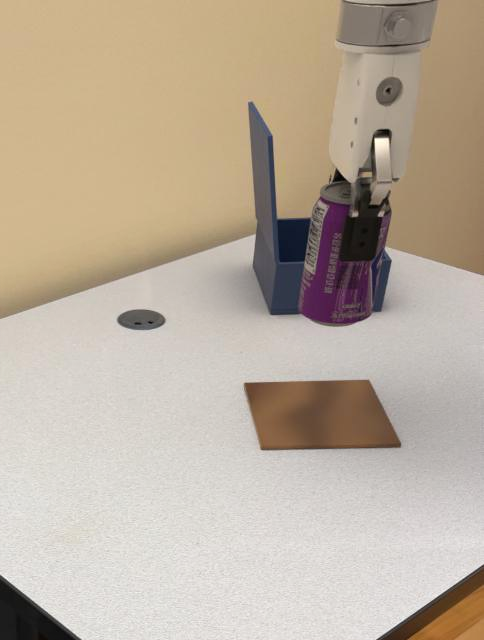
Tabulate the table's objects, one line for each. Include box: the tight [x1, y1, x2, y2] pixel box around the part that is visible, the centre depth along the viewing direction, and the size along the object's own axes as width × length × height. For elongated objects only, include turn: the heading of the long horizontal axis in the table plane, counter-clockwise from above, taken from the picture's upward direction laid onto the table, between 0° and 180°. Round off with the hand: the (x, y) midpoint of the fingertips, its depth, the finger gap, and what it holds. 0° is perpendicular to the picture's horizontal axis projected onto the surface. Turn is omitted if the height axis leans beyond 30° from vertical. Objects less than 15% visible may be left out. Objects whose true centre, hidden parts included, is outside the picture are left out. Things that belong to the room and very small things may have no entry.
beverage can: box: [298, 181, 393, 328], centre depth 85 cm, size 7×7×12 cm
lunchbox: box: [252, 216, 393, 316], centre depth 120 cm, size 14×17×7 cm
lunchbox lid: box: [247, 101, 279, 261], centre depth 114 cm, size 15×17×1 cm
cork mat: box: [243, 379, 402, 450], centre depth 96 cm, size 14×14×1 cm
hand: (346, 243), depth 85 cm, fingers closed on beverage can, 7 cm apart
